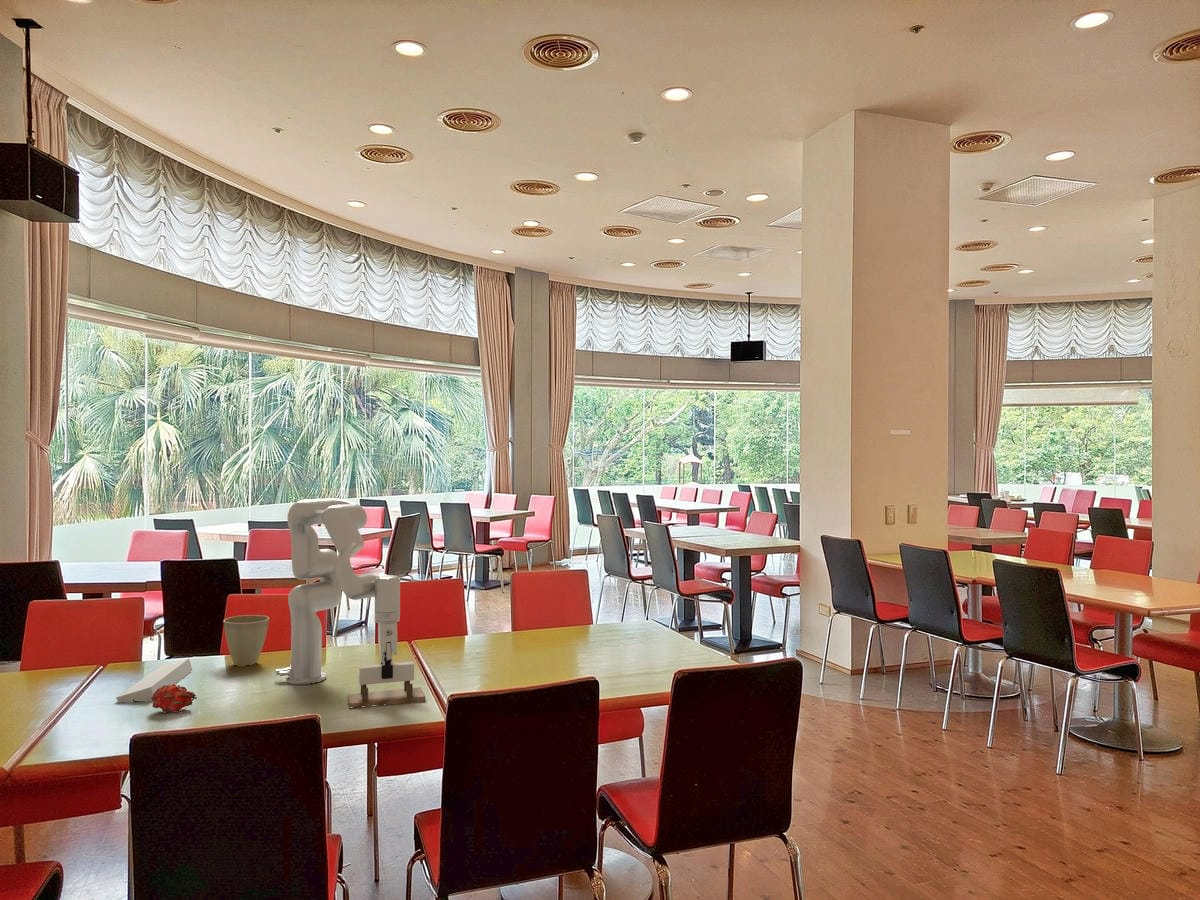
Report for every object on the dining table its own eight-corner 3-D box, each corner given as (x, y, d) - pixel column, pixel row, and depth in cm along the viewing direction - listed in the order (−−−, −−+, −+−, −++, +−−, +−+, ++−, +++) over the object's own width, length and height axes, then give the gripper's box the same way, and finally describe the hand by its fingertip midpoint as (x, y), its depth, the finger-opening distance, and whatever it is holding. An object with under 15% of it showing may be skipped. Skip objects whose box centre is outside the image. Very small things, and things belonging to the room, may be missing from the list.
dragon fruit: (148, 717, 231) (193, 720, 234) (143, 707, 225) (189, 710, 227) (157, 688, 236) (201, 692, 239) (153, 677, 230) (198, 681, 232)
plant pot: (248, 670, 275) (249, 624, 275) (213, 667, 279) (213, 621, 279) (277, 660, 289) (278, 616, 290) (243, 657, 294) (243, 613, 294)
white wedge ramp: (120, 712, 239) (155, 702, 241) (115, 697, 239) (150, 687, 241) (162, 680, 273) (193, 671, 274) (158, 667, 273) (189, 658, 274)
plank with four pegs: (349, 708, 235) (349, 691, 235) (347, 698, 245) (348, 682, 245) (425, 701, 243) (425, 684, 243) (420, 692, 252) (421, 676, 252)
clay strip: (359, 685, 240) (359, 668, 240) (359, 682, 243) (359, 665, 243) (414, 680, 245) (414, 664, 245) (412, 677, 248) (412, 661, 248)
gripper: (402, 620, 238) (402, 682, 238) (397, 610, 253) (396, 669, 253) (376, 622, 235) (376, 685, 235) (372, 612, 250) (371, 671, 250)
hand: (386, 676), depth 244 cm, fingers closed on clay strip, 2 cm apart
